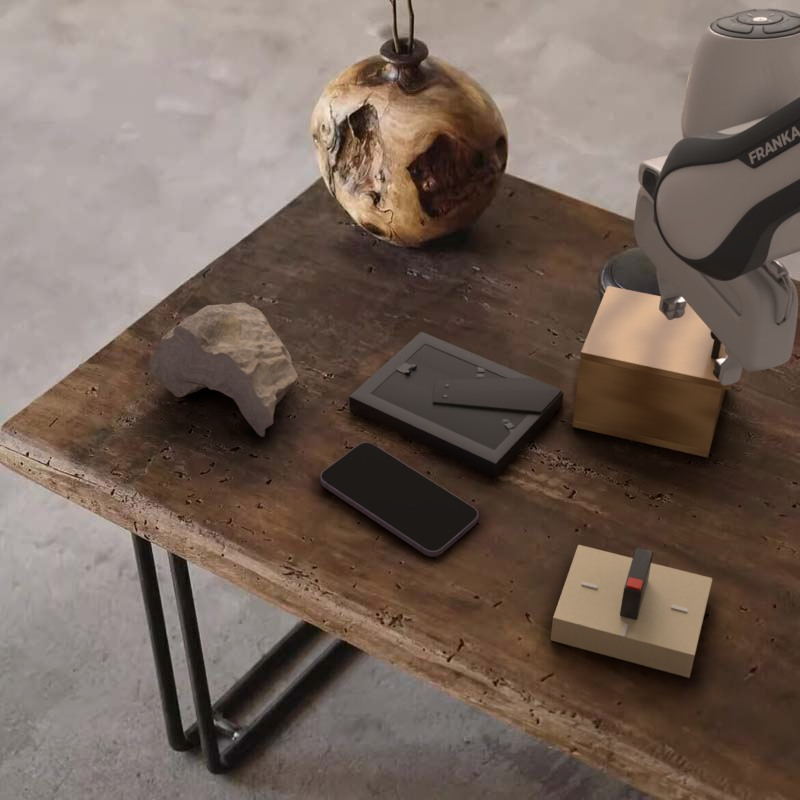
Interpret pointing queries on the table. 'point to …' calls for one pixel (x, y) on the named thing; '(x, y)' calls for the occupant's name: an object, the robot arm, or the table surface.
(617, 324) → the chest lid
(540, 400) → the picture frame
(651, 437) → the chest
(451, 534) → the smartphone
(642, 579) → the black red-tipped block
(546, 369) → the table surface
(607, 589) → the plate
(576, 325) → the table surface
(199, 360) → the rock
